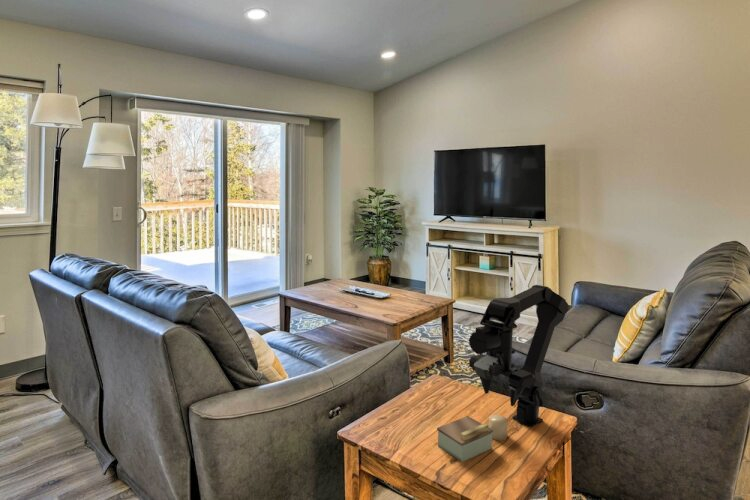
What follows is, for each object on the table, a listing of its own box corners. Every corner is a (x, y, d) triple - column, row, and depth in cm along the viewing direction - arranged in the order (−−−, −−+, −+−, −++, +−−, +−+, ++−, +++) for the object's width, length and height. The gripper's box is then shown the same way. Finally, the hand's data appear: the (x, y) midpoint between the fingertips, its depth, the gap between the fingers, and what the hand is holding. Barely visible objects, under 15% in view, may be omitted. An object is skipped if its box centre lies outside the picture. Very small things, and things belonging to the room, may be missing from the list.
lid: (467, 417, 129) (467, 410, 129) (492, 432, 122) (493, 424, 121) (436, 429, 123) (437, 422, 122) (461, 445, 115) (461, 437, 115)
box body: (466, 433, 129) (467, 419, 129) (491, 448, 122) (492, 433, 122) (437, 445, 123) (438, 430, 123) (461, 462, 116) (462, 446, 115)
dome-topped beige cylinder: (496, 429, 132) (497, 412, 131) (510, 436, 128) (511, 420, 127) (484, 434, 129) (485, 417, 129) (498, 442, 125) (499, 425, 125)
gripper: (455, 341, 128) (454, 394, 130) (509, 362, 113) (506, 421, 115) (483, 334, 134) (481, 384, 137) (537, 353, 119) (534, 409, 121)
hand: (499, 399), depth 127 cm, fingers open, 9 cm apart
